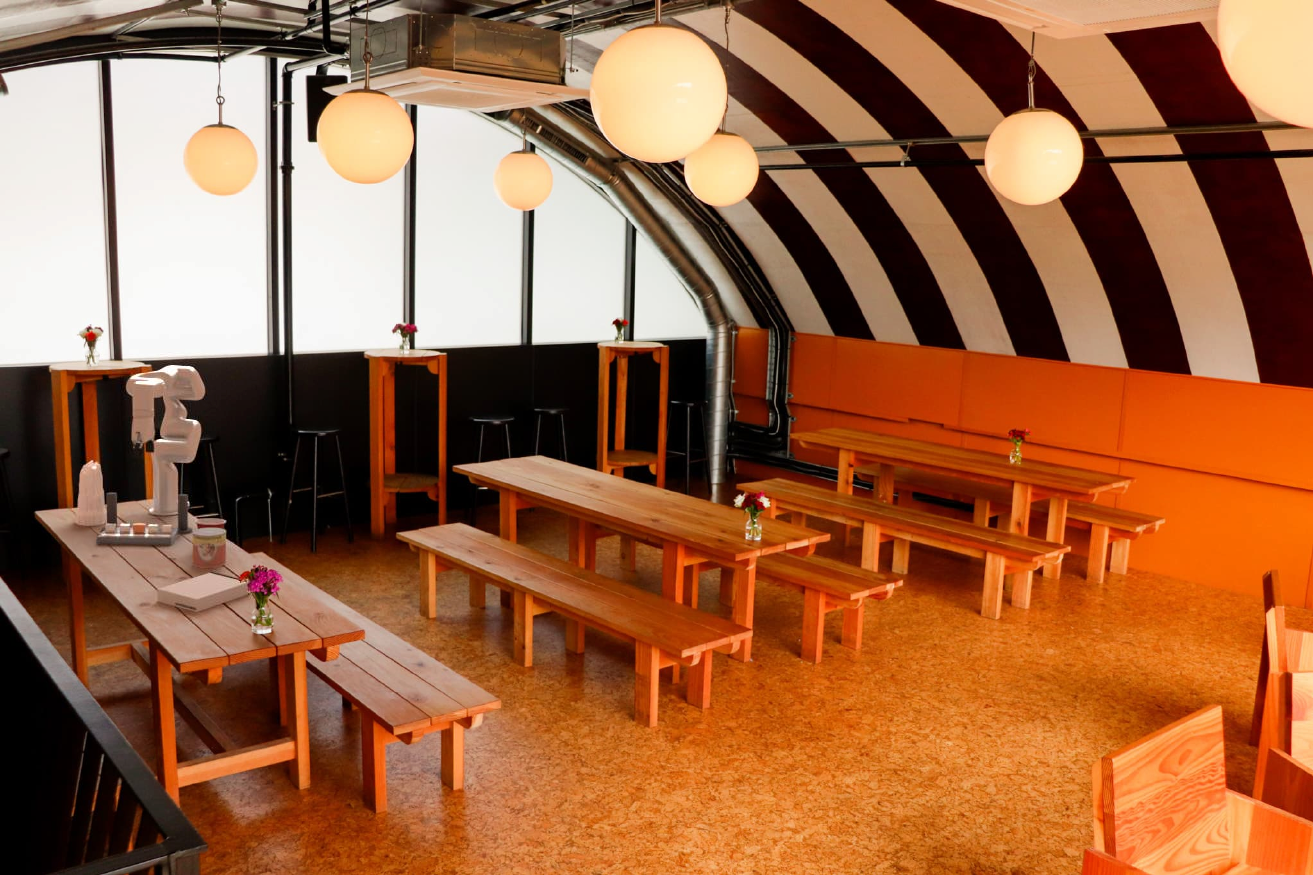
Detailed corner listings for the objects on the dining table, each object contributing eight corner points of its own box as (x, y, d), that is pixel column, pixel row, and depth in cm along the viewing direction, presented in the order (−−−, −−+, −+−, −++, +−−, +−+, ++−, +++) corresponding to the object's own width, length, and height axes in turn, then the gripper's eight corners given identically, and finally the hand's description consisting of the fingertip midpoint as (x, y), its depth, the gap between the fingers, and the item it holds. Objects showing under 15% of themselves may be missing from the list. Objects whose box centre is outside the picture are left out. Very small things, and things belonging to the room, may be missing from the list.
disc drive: (250, 595, 352) (250, 580, 351) (197, 613, 331) (197, 598, 330) (211, 585, 358) (211, 571, 357) (156, 602, 338) (156, 587, 337)
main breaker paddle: (134, 530, 401) (134, 523, 401) (145, 531, 402) (145, 523, 402) (132, 532, 399) (132, 524, 399) (144, 532, 400) (144, 524, 400)
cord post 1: (118, 527, 416) (117, 490, 413) (124, 531, 411) (124, 494, 409) (99, 529, 411) (98, 492, 408) (105, 533, 406) (105, 496, 403)
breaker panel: (107, 534, 405) (107, 519, 404) (179, 535, 411) (179, 520, 410) (97, 544, 392) (96, 529, 391) (171, 545, 398) (171, 530, 397)
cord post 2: (188, 528, 422) (188, 492, 419) (195, 532, 417) (195, 496, 415) (170, 530, 417) (170, 494, 414) (177, 534, 412) (177, 498, 409)
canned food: (190, 567, 373) (190, 535, 371) (195, 558, 384) (195, 527, 382) (223, 567, 376) (224, 535, 374) (227, 558, 387) (228, 527, 385)
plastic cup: (231, 548, 400) (231, 517, 398) (216, 555, 390) (217, 524, 388) (204, 545, 401) (204, 515, 399) (189, 552, 390) (189, 521, 389)
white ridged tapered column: (96, 526, 414) (96, 465, 410) (70, 524, 414) (69, 463, 410) (111, 520, 425) (111, 460, 421) (85, 518, 425) (84, 458, 421)
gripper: (143, 408, 418) (144, 449, 421) (123, 416, 401) (124, 459, 405) (162, 409, 418) (163, 451, 422) (143, 417, 401) (143, 460, 405)
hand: (144, 455), depth 413 cm, fingers open, 9 cm apart
